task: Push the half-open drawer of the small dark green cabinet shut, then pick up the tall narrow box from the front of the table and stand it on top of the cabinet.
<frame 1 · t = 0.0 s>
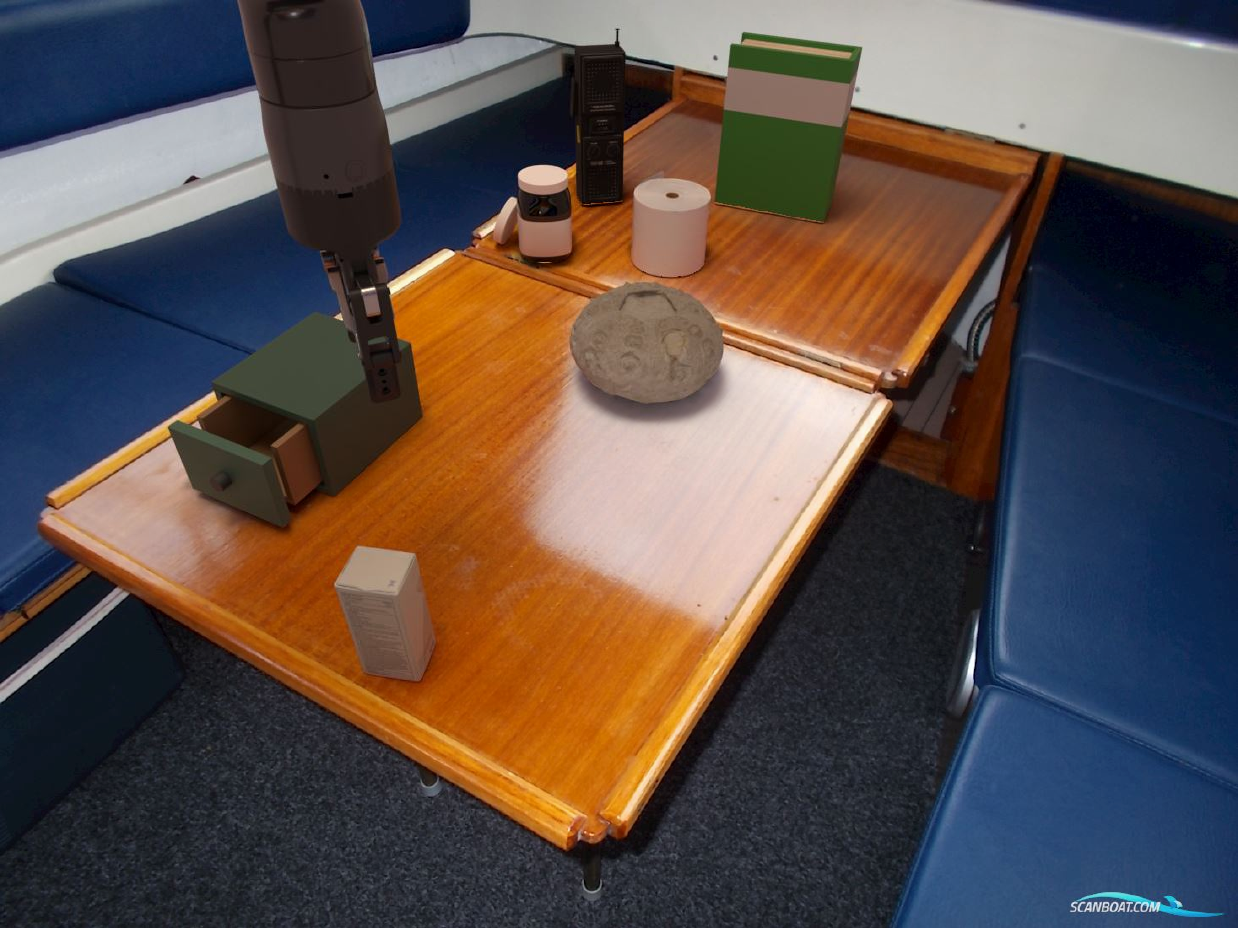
hand: (374, 367, 66), 21 cm above the table, tool pointing down, fingers open, 8 cm apart
portable radio: (596, 200, 140), on the table
toilet tissue: (664, 259, 125), on the table
spread jar: (532, 251, 126), on the table
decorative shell: (644, 378, 103), on the table
hardback book: (772, 206, 139), on the table
drawer: (273, 440, 85), point 5 cm above the table, slide at 5.0 cm
box: (399, 658, 72), on the table
cabinet: (333, 436, 93), on the table
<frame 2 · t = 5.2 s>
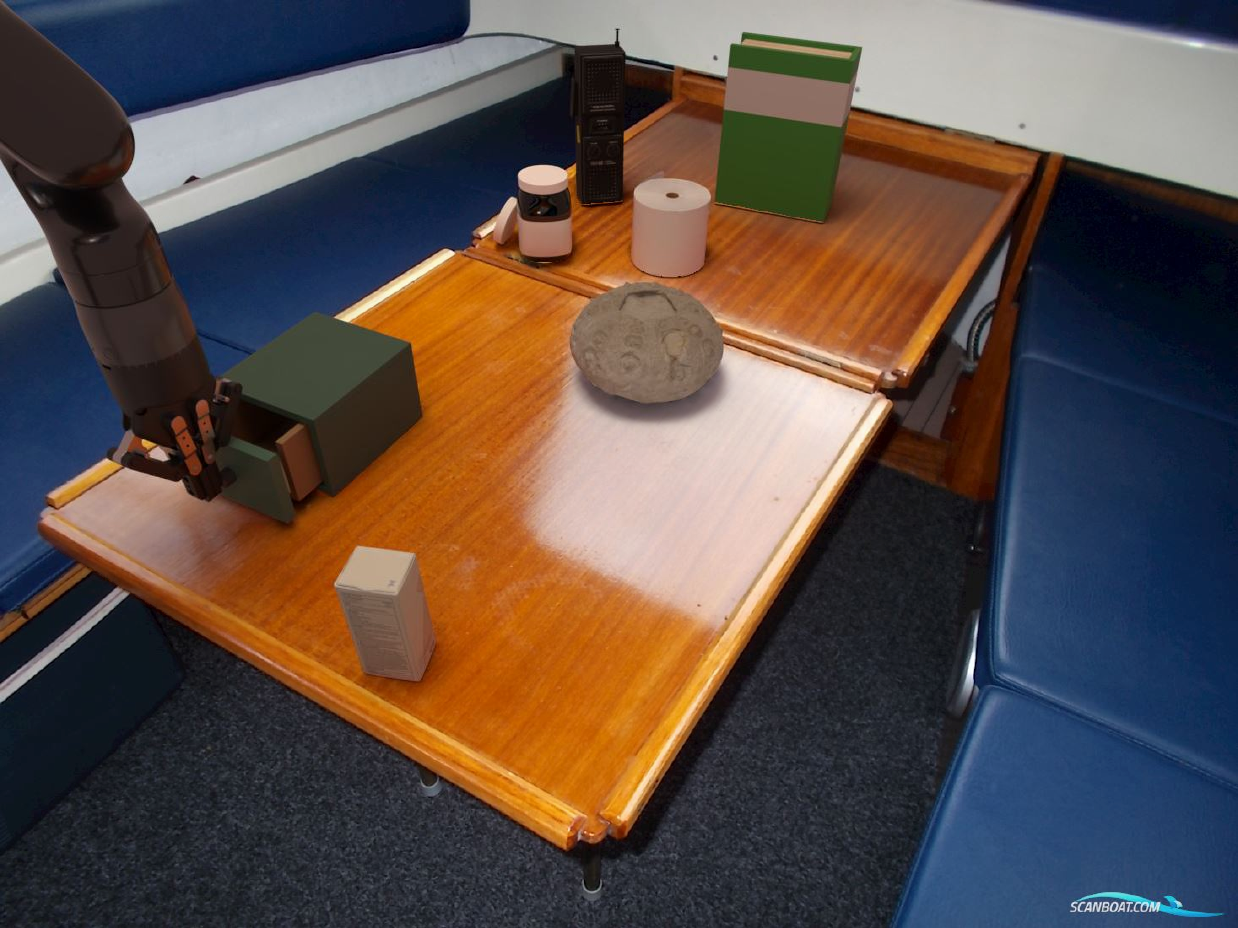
hand: (208, 494, 79), 5 cm above the table, tool pointing down, fingers closed
drawer: (277, 436, 85), point 5 cm above the table, slide at 4.4 cm, touching gripper
everything else where it was.
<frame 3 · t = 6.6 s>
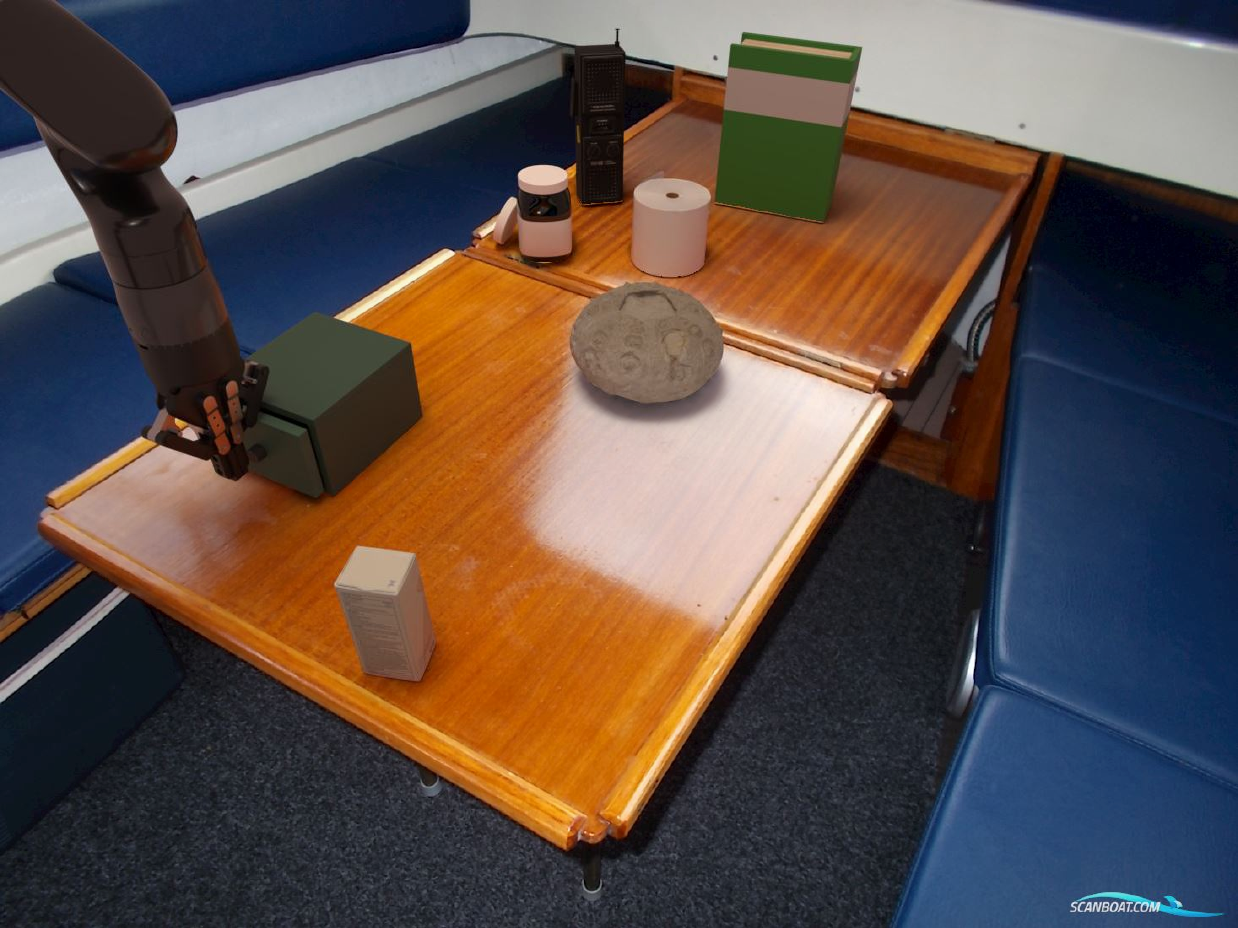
hand: (235, 474, 82), 4 cm above the table, tool pointing down, fingers closed
drawer: (305, 415, 88), point 5 cm above the table, slide at 0.4 cm
everything else where it was.
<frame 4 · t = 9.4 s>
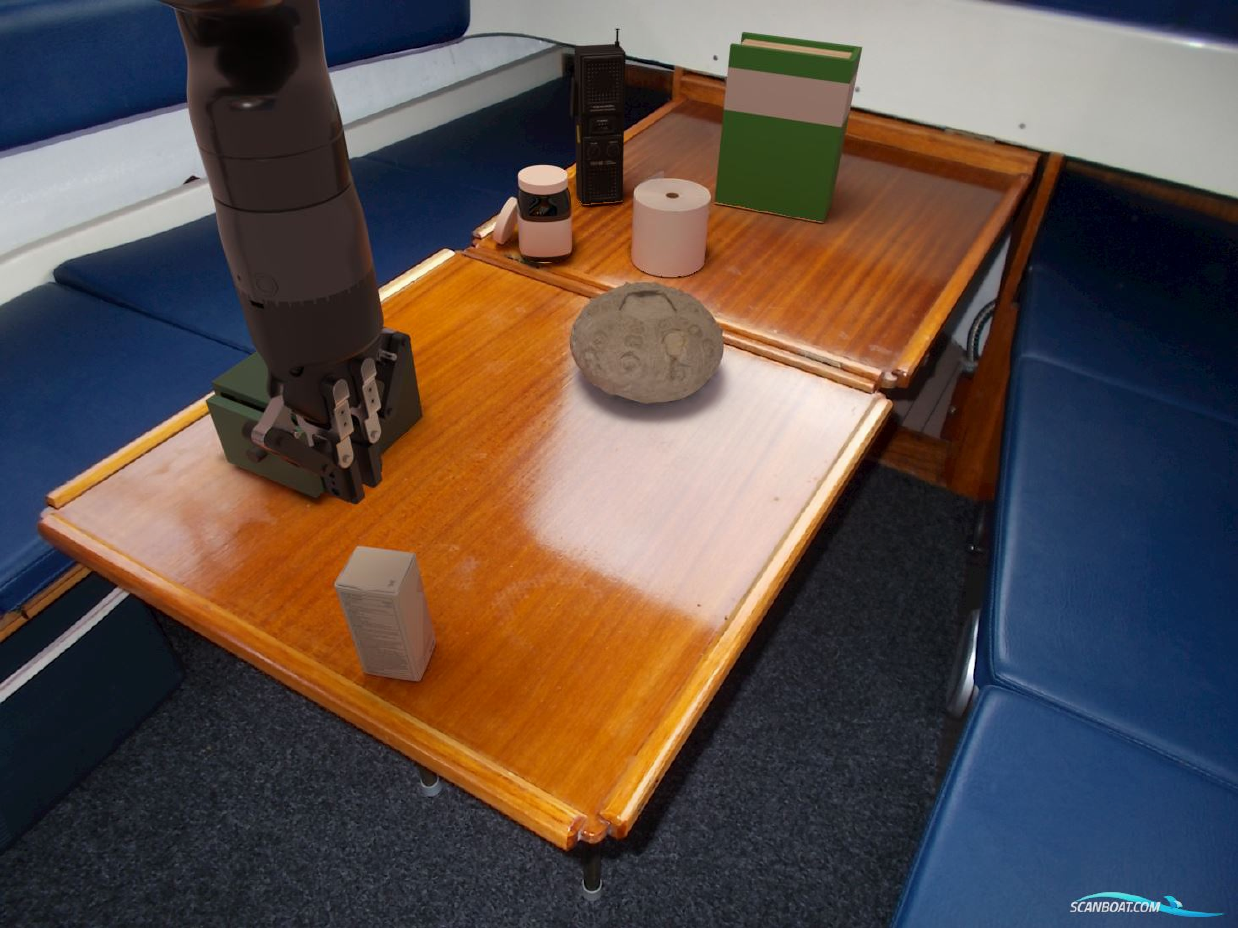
hand: (358, 489, 59), 19 cm above the table, tool pointing down, fingers closed
nothing on the table moved.
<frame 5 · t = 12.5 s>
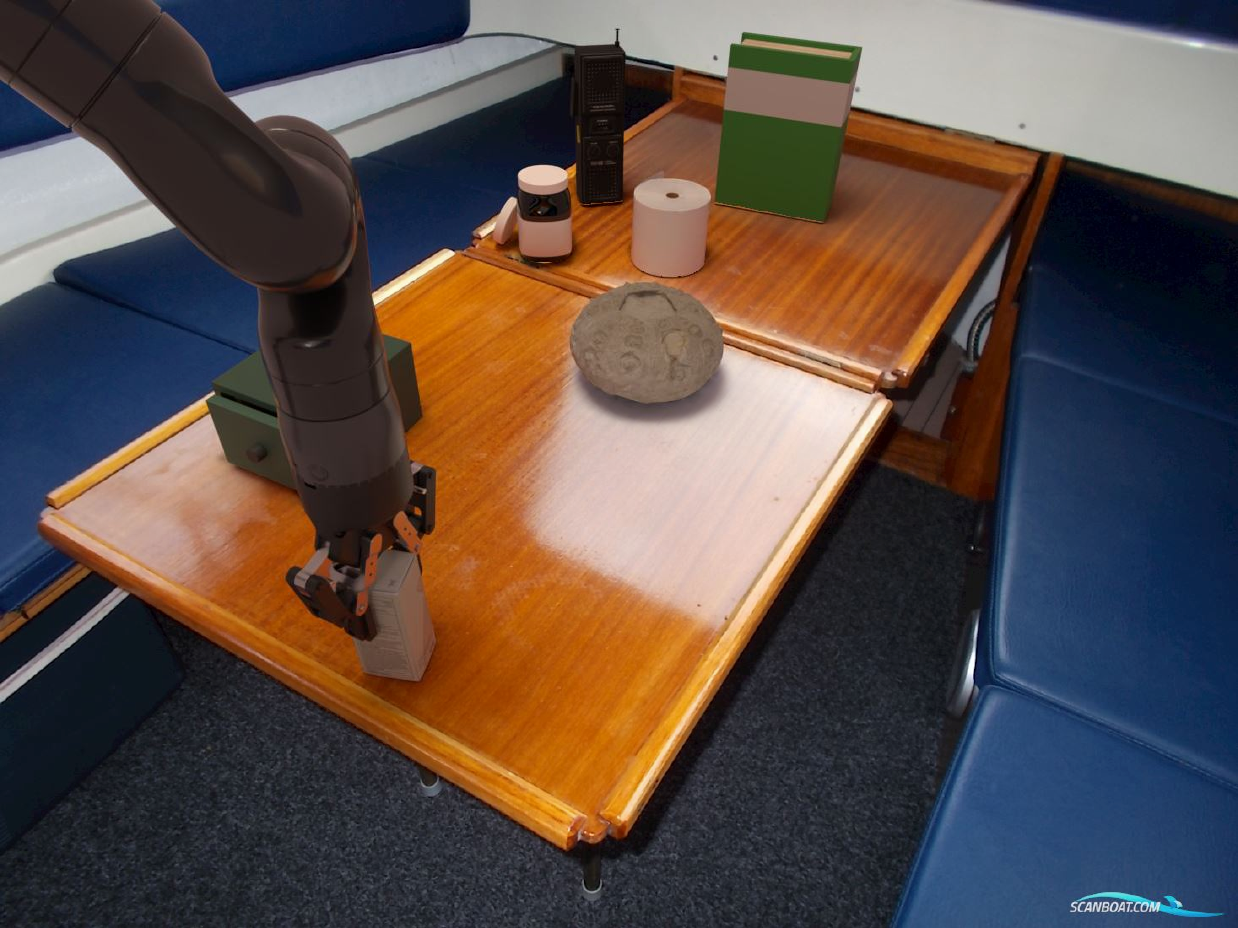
hand: (386, 608, 67), 6 cm above the table, tool pointing down, fingers closed on box, 5 cm apart
box: (399, 658, 72), on the table, touching gripper
everything else where it was.
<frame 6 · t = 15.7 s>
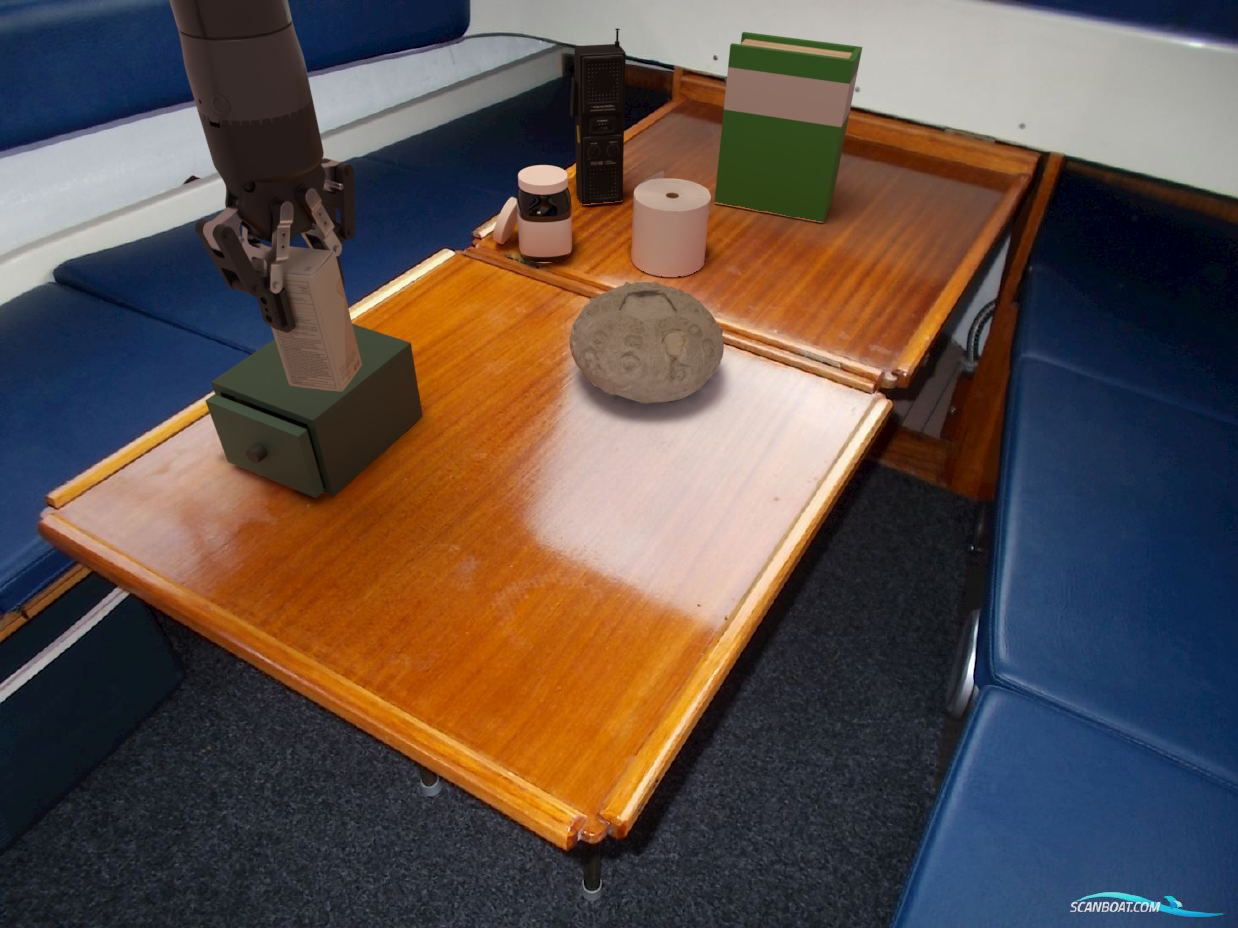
hand: (308, 311, 70), 23 cm above the table, tool pointing down, fingers closed on box, 5 cm apart
box: (325, 377, 74), point 16 cm above the table, touching gripper
everything else where it was.
when the fingers open (16 cm above the table, at t = 18.9 s): box stays where it is, resting on cabinet.
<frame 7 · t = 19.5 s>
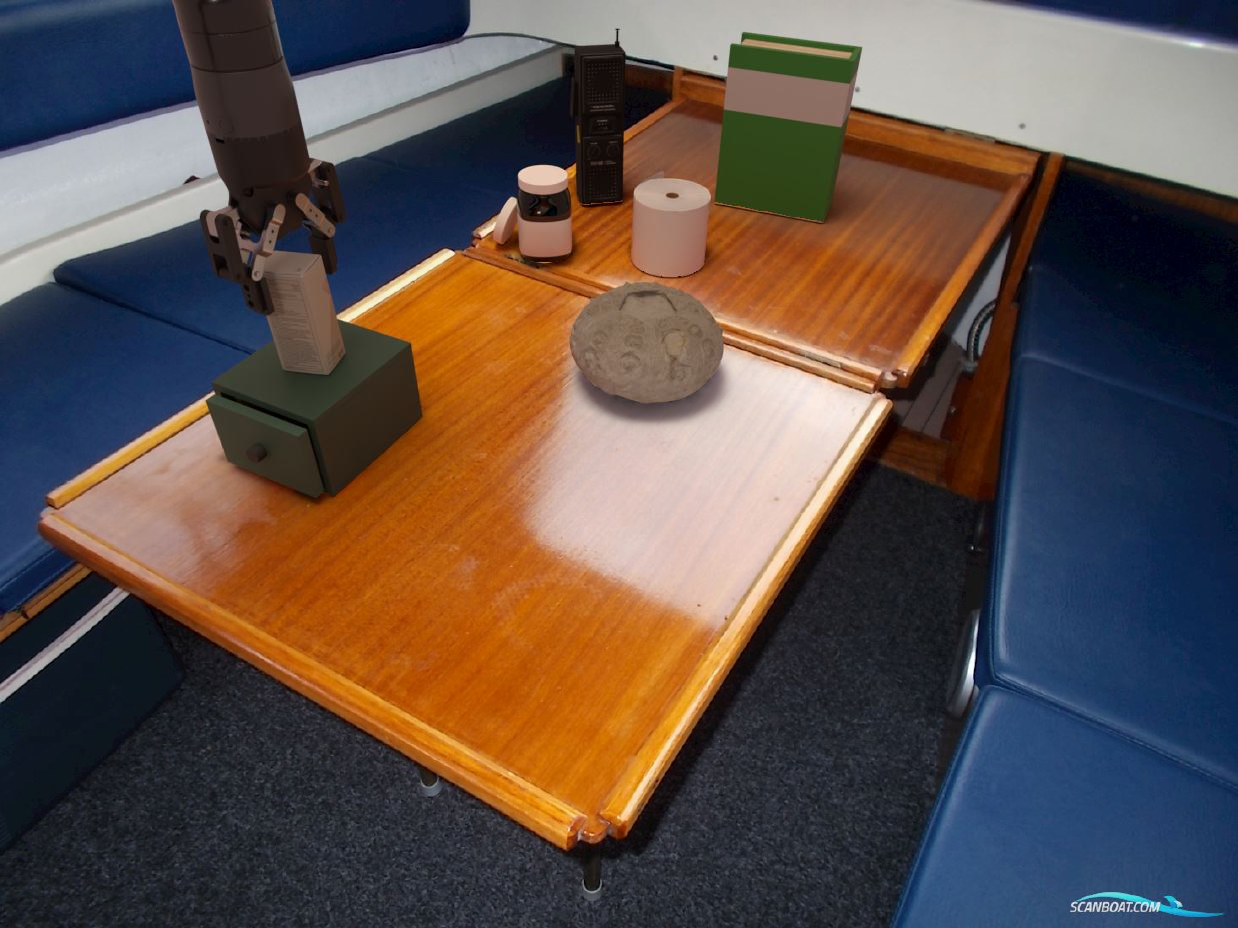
hand: (296, 291, 81), 18 cm above the table, tool pointing down, fingers open, 8 cm apart
box: (314, 363, 87), point 10 cm above the table, touching cabinet
everything else where it was.
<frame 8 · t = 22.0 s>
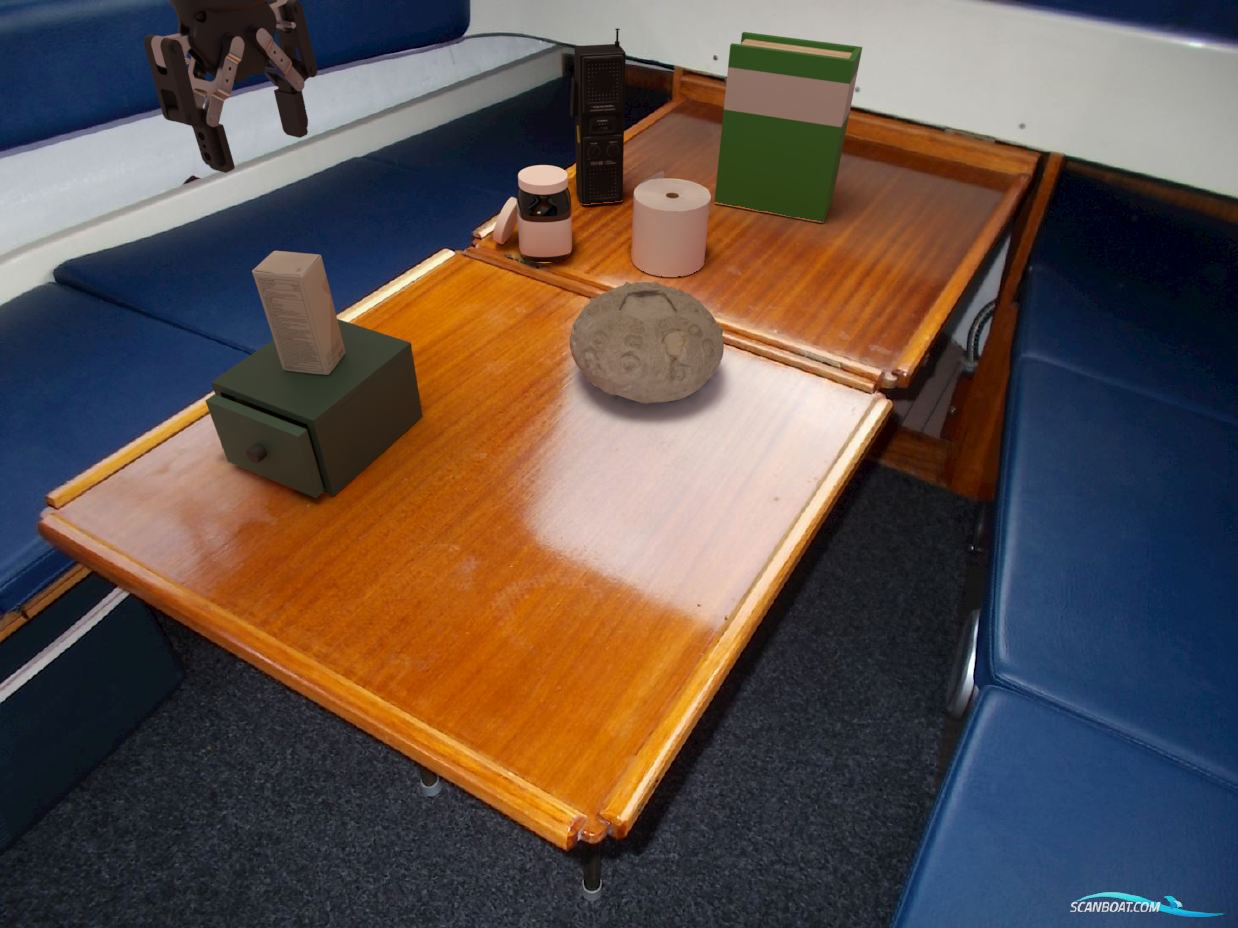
hand: (260, 152, 72), 31 cm above the table, tool pointing down, fingers open, 8 cm apart
nothing on the table moved.
at the end: drawer slide at 0.4 cm; box inside the target area on the cabinet (0.1 cm from its centre), point 9.6 cm above the cabinet's base; box tilted 0° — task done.
